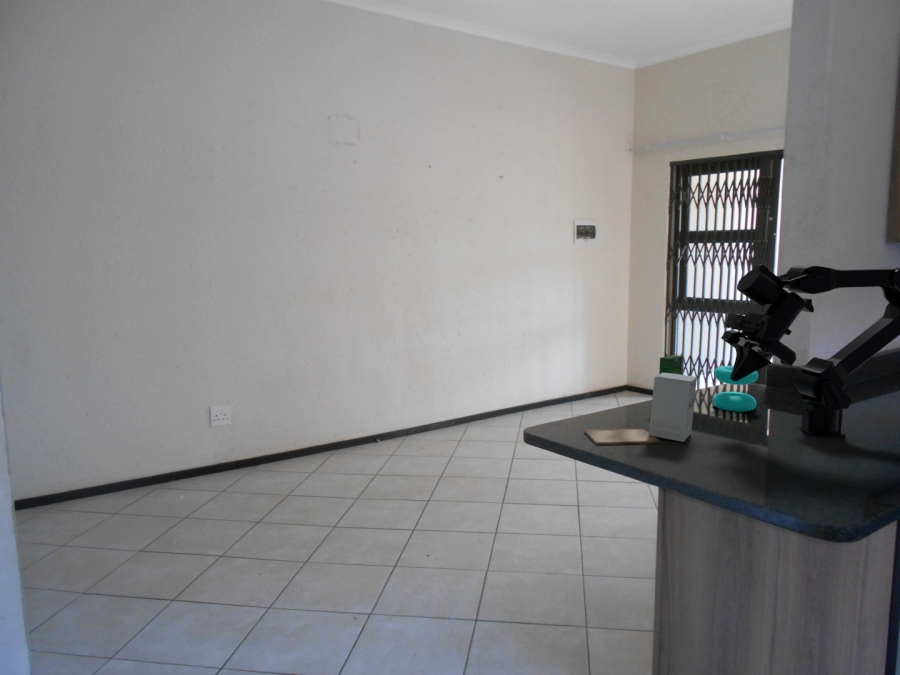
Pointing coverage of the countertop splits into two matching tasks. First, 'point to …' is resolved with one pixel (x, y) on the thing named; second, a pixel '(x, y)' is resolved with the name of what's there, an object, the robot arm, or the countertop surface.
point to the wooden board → (621, 436)
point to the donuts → (734, 399)
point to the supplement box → (672, 406)
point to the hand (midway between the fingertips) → (732, 380)
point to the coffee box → (671, 364)
